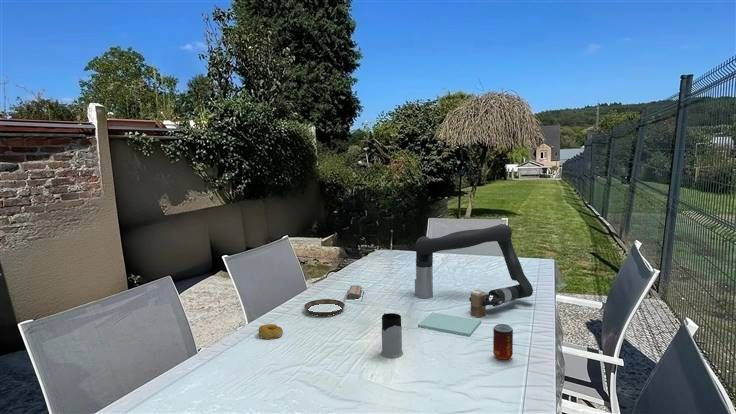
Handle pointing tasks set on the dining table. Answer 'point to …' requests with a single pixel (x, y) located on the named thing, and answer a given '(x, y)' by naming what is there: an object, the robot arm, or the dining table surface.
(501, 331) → the soda can
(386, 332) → the glass holder
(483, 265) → the dining table surface
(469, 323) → the sage board
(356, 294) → the packaged product
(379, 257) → the dining table surface
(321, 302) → the plant saucer
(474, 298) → the brown tall square block
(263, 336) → the bagel
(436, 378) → the dining table surface
